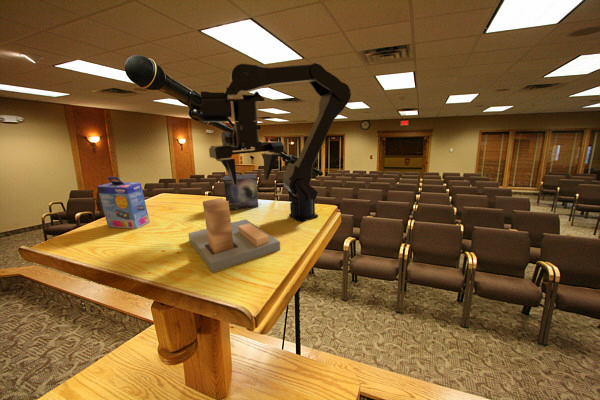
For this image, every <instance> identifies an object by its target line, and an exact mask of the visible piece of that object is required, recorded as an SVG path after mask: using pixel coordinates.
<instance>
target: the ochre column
mask: <svg viewBox="0 0 600 400" xmlns="http://www.w3.org/2000/svg"><path fill="white" fill-rule="evenodd" d="M202 205H203V212H204V222H205V227H206V228H205V229H207V236H208V243H209V250H210V253H211V254H212V255H214V254H217V253H220V252H224V251H227V250H230V249H234V246H233V237H232V228H231V223H232V220H231V212H230V211H231V210H229V202H228V201H226V198H225V199H224V198H223V197H218V198H213V199H208V200H203V201H202Z"/></svg>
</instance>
